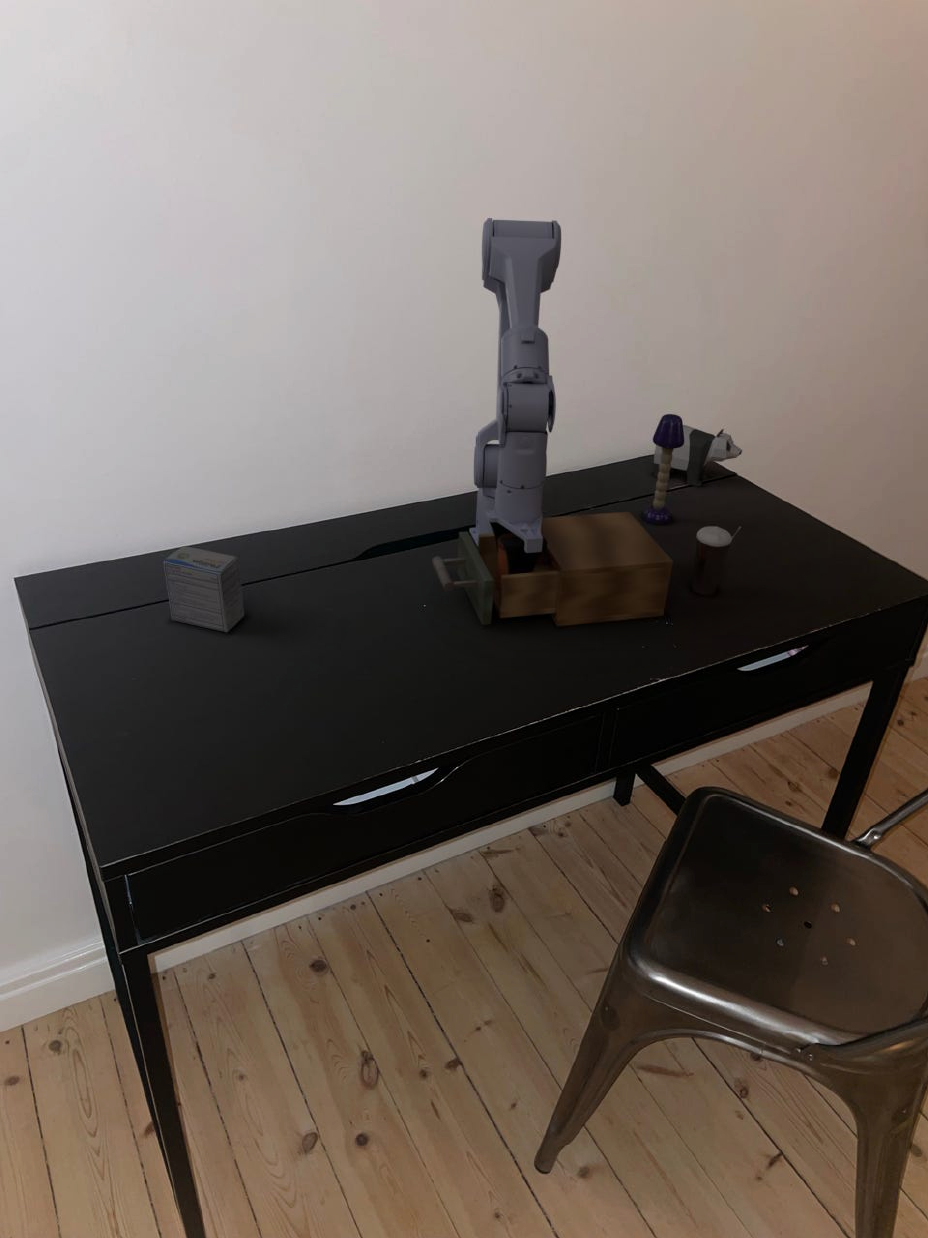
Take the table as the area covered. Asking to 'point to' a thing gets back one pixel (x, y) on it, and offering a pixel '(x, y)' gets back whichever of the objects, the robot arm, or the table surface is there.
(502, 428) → the robot arm
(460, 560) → the drawer
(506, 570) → the spice jar
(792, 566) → the table surface
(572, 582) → the cabinet
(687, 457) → the giant panda
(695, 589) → the milkshake
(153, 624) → the table surface
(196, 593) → the medicine box
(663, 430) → the toy lamp
